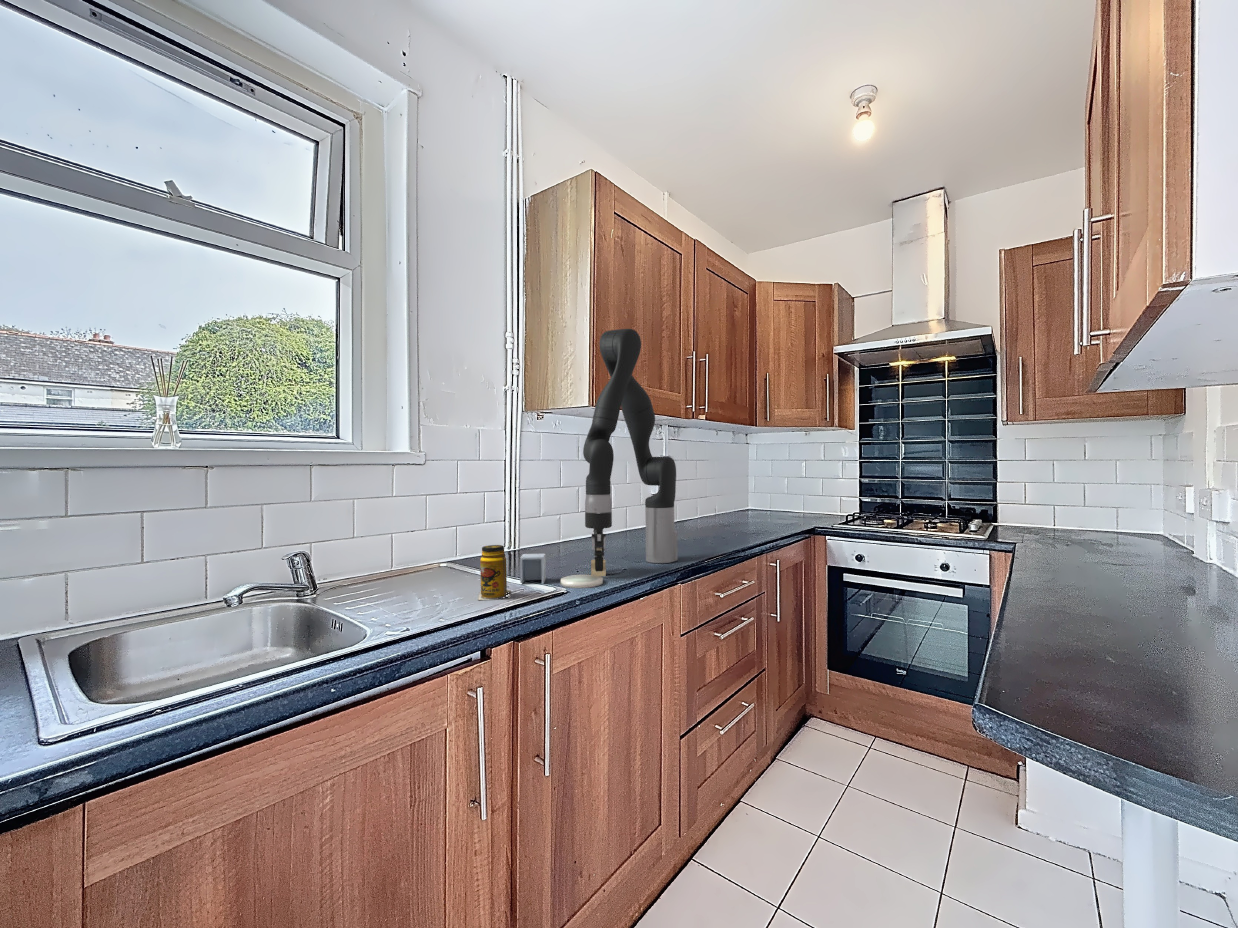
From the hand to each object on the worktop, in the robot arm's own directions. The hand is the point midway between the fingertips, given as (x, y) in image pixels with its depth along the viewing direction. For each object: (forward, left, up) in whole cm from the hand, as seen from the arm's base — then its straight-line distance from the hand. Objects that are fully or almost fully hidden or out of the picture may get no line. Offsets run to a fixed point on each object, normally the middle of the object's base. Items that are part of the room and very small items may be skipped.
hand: (598, 568), depth 157 cm
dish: (+9, +7, -2) cm, 12 cm away
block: (0, -1, -2) cm, 2 cm away
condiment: (+33, +6, -2) cm, 34 cm away
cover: (+19, -2, -2) cm, 19 cm away
